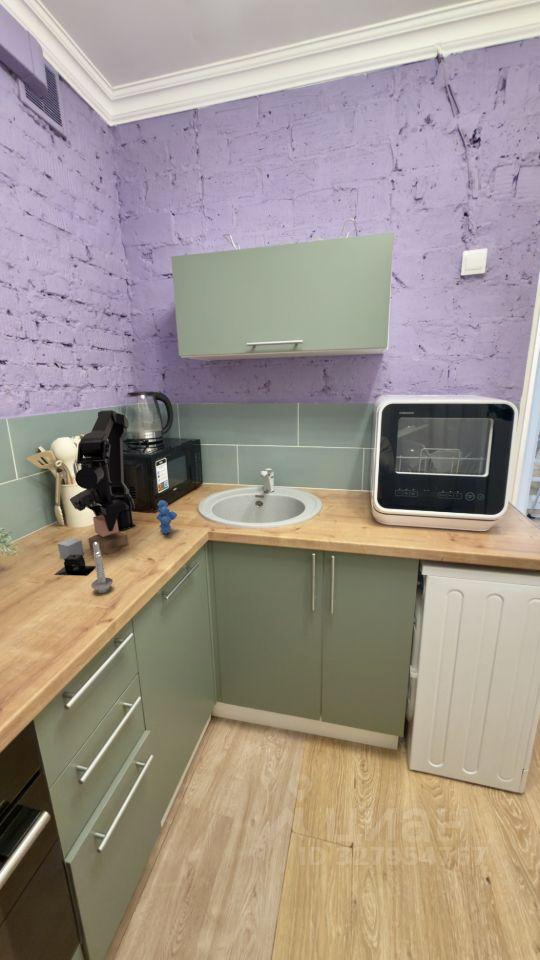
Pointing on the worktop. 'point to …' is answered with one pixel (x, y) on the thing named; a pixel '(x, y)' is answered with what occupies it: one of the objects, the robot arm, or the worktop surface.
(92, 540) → the walnut block
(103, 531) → the terracotta cube
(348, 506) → the worktop surface
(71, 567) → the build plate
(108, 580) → the screw
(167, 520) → the grapes
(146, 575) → the worktop surface
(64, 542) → the slate cube
